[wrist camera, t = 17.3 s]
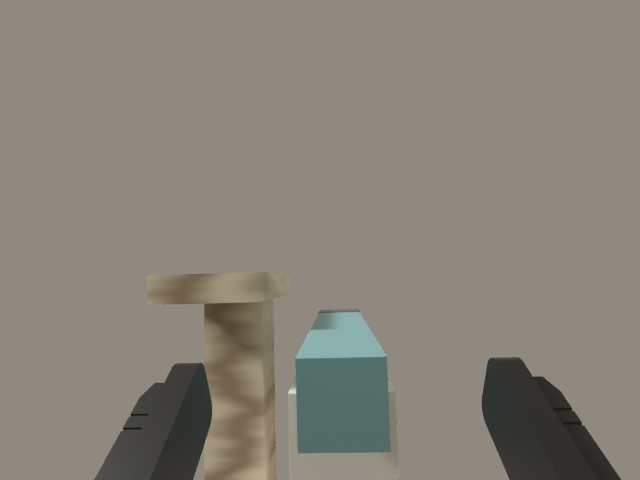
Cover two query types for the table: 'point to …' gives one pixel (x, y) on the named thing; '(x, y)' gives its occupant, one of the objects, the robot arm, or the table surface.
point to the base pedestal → (343, 468)
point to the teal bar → (342, 387)
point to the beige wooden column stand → (234, 365)
